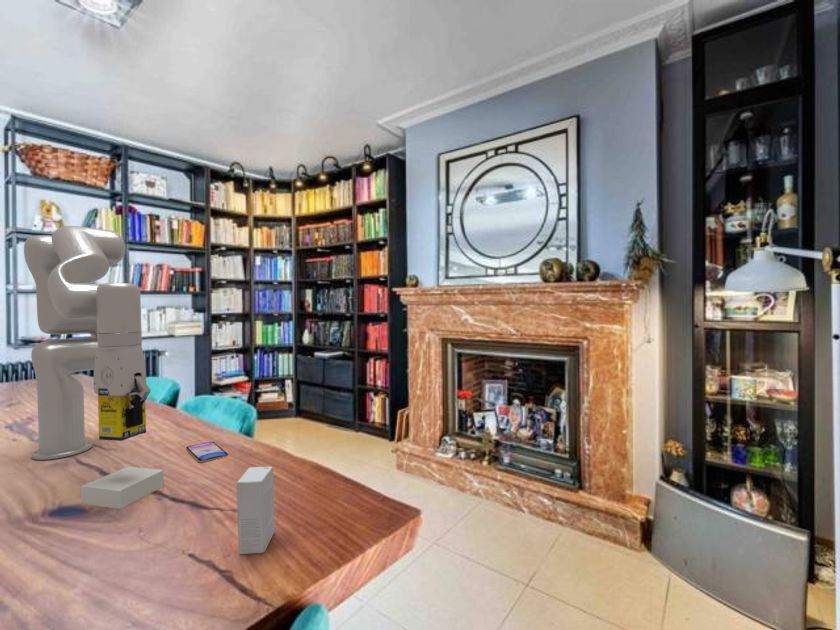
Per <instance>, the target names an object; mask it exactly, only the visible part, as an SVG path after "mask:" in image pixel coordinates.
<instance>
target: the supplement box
mask: <svg viewBox="0 0 840 630" xmlns="http://www.w3.org/2000/svg"><path fill="white" fill-rule="evenodd" d="M133 392H136V390H132V391H131V392H130V393H133ZM135 397H136V396H132V397H131V398H132V401H133V400H134V398H135ZM97 401H98V402H97V406H98V407H97V408H98V440H102V441H119V442H123V441H125V440H127V439H131V438H133V437H137V436H138V435H142V434H146V433H147V419H146V417H147V416H146V413H147V411H146V401H145V402H144V403H145V404H144V406H143V424H141V425H138V426H135V427H131V428H126V416H125V409H128V407H127V404H126V395H125V396H122V397H120V396H113V395H110V394H109V391H108V389H107V388H98V394H97Z"/></svg>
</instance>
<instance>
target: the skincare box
mask: <svg viewBox="0 0 840 630" xmlns="http://www.w3.org/2000/svg"><path fill="white" fill-rule="evenodd" d="M274 492H275V490H274V467H273V466H253V467H251V466H250V467H248V468H247V470H246V471H245V472H244V473H243V475H241V477H240V478H239V480H238V481H237V482H236V504H237V506H236V508H237V509H236V510H237V538H238V555H249V554H264V553H265V552H266V551H267V548H268V546H269V544H270V542H271V539H272V538H273V536H274V533H275V500H274V499H275V498H274Z"/></svg>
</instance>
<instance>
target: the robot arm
mask: <svg viewBox="0 0 840 630" xmlns="http://www.w3.org/2000/svg"><path fill="white" fill-rule="evenodd" d="M23 254H24V255H23V256H24V260H25V264H26V265H27V268H28V270H29V273H30V274H31V276H32V279H33V280H34V283H35V291H36V294H35V295H36V296H35V297H36V320H37V325H38V328H39V330H40V332H43V334H48V335H73V334H89V335H90V337H84V338H79V337H77V338H61V339H60V338H58V339H49V340H45V341H42V342H39V343H37V344H35V346H33V347H32V349H31V351H30V352H31V354H30V355H31V356H30V358H31V363H32V366H33V370H34V374H35V381H36V393H37V395H36V396H37V424H38V425H37V427H38V438H36V443H38V448H37V449H35V450H33V451H32V452H31V454H30V455H31V459H33V460H37V461H44V460H45V461H47V460H48V461H49V460H55V459H57V460H58V459H61V458H67V457H70V456H75V455H78V454H80V453H83V452H86V451H88V450H90V449H91V448H92V447H93V442H92V441H90V440H87V439H86V433H85V431H86V429H85V428H86V427H85V400H84V399H85V396H84V387H83V384H82V383H81V382H80V381H79V380H78V379H77V378H75V377H74V376H72V373H79V372H86V371H93V392H94V393H95V394H96V395H98V388H107V389H108V391H109V394H110V395H113V396H120V397H122V396H125V395H126V404H127V407H128V409H125V416H126V428H131V427H135V426H138V425H141V424H143V406H144V404H145V405H146V400H147V399H148V396H149V395H150V393H151V391H152V390H151V388H150V386H149V385H148V384H147V370H146V363H145V362H146V361H145V356H144V350H143V334H142V310H141V308H142V307H141V305H142V304H141V290H140V287H139V286H138V285H137V284H134V283H129V282H128V283H125V282H105V283H93V282H97V281H99V280H101V279H102V278H104V277H105V276H106V275H107V274H108V272H109V271H110V268H111V267H114V266H115V265H117V264H119V263H120V262H121V261H122V260H123V258H124V257H125V254H126V243H125V241H124V238H123V237H122V236H121V235H120V234H119V233H118V232H116V231H114V230H110V229H103V228H95V227H87V226H86V227H85V226H81V225H80V226H78V225H66V226H61V227H59V228H57V229H55V230H54V231H53V232H52V234H51V235H49V234H48V235H47V234H46V235H44V234H42V235H39V234H38V235H33V236H30V237H28V238H27V239H26V240H25V241H24V245H23ZM132 390H136V392H133V393H130V392H131V391H132ZM132 396H136V397H135V398H134V400H133V401H132V398H131V397H132ZM144 402H145V403H144Z"/></svg>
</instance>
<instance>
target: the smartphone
mask: <svg viewBox="0 0 840 630" xmlns="http://www.w3.org/2000/svg"><path fill="white" fill-rule="evenodd" d="M185 450H186V451H187V453H188V454H189V455H190V456H192V458H193V459H194V460H195V461H196V462H197V463H198V464H205V463H208V462H212V461H216V459H217V460H220V458H221V459H224V458H223V457H225V458H227V457H226V456H228V455H229V453H228V452H227V451H226V450H224V449H223V448H222V447H221V446H219V445H218V444H217V443H216V442H215V441H208V442H202V443H198V444H197V443H196V444H193V445H188V446H186V447H185ZM228 457H229V456H228Z"/></svg>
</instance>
